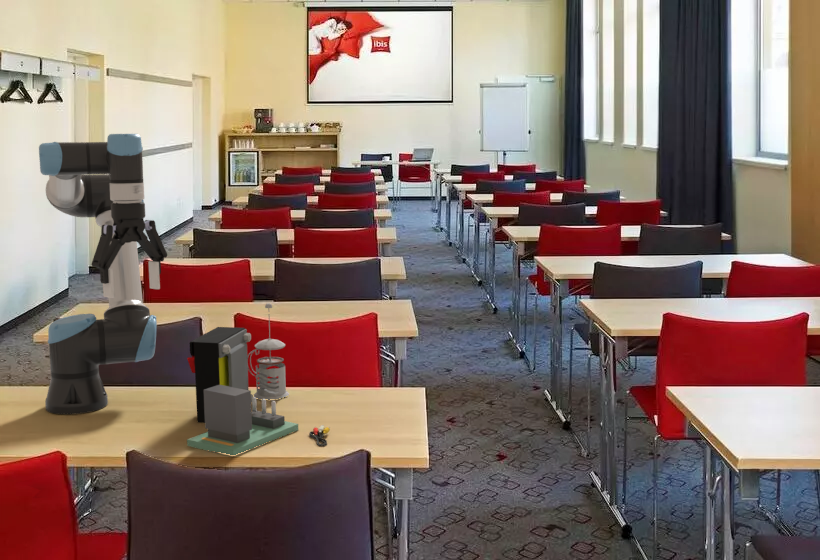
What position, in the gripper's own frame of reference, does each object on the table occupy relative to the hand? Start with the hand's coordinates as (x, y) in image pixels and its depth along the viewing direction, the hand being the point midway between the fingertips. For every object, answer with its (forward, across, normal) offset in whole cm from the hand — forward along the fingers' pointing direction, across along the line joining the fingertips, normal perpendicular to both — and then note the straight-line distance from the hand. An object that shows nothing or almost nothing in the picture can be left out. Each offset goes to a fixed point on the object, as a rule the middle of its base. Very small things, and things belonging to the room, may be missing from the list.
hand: (132, 293), depth 221 cm
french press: (+33, +38, -7) cm, 51 cm away
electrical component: (+33, +20, -8) cm, 39 cm away
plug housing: (+29, +3, -26) cm, 39 cm away
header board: (+33, +8, -26) cm, 43 cm away
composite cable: (+33, +16, -41) cm, 55 cm away
